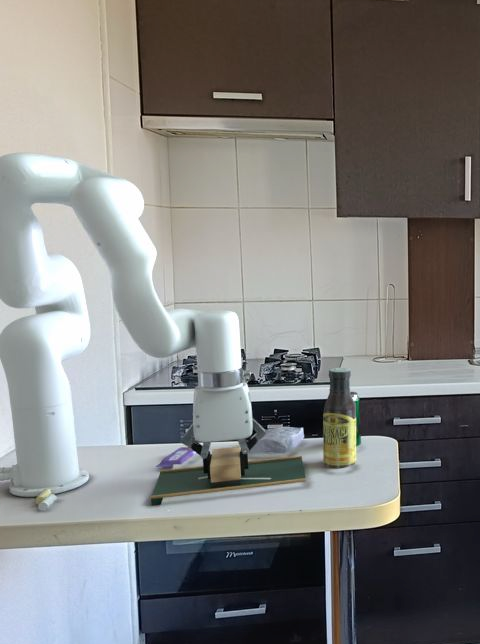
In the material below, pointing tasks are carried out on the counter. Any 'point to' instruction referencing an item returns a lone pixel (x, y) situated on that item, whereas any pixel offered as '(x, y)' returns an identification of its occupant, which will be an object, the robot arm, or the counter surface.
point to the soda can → (357, 417)
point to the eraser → (225, 467)
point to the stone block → (279, 440)
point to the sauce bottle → (339, 422)
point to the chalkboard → (255, 476)
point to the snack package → (177, 457)
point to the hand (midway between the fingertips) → (226, 473)
